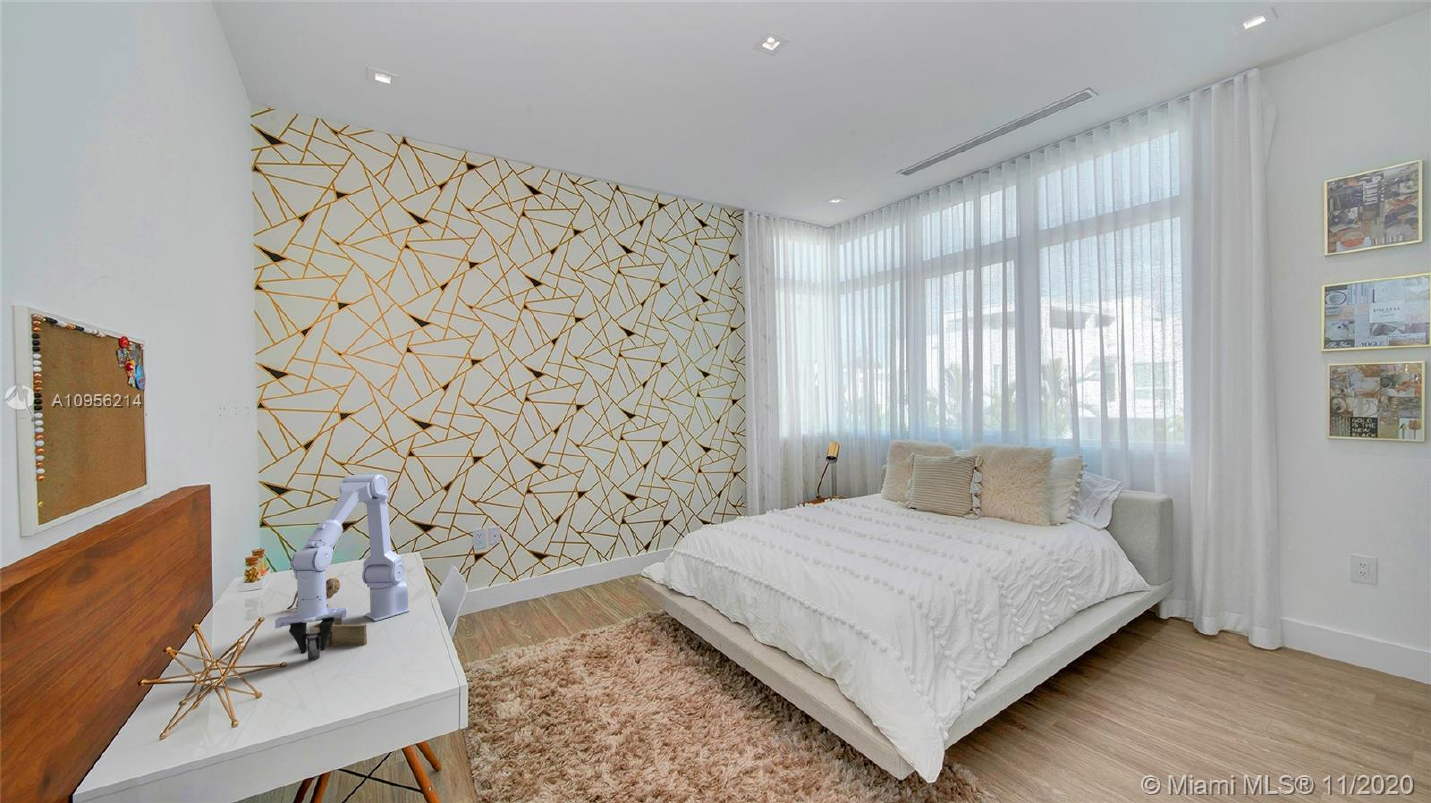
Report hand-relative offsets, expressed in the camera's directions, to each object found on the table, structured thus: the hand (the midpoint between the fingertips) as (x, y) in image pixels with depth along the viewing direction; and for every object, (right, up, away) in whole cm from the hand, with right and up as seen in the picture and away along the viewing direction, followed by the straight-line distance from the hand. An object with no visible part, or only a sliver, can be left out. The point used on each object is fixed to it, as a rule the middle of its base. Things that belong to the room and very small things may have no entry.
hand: (313, 650), depth 134 cm
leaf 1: (-5, -2, +13) cm, 14 cm away
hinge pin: (0, -2, 0) cm, 2 cm away
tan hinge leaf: (+1, -2, +8) cm, 8 cm away
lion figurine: (-25, -3, +35) cm, 43 cm away
